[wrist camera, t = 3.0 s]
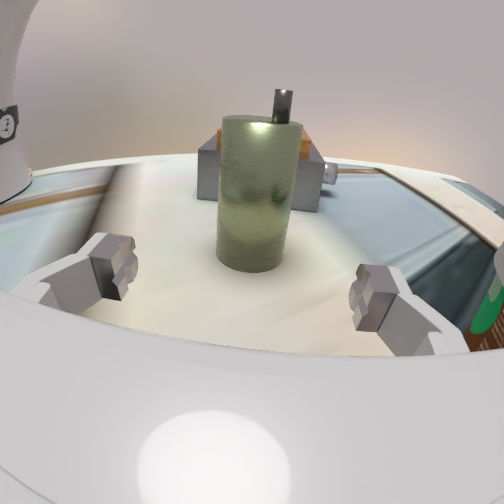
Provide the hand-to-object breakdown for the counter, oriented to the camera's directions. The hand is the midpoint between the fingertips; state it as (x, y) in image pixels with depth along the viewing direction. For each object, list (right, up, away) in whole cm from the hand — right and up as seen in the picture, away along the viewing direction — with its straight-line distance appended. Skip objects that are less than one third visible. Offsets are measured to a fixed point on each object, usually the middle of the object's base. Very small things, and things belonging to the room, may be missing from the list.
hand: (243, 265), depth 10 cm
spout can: (0, 0, +14) cm, 14 cm away
